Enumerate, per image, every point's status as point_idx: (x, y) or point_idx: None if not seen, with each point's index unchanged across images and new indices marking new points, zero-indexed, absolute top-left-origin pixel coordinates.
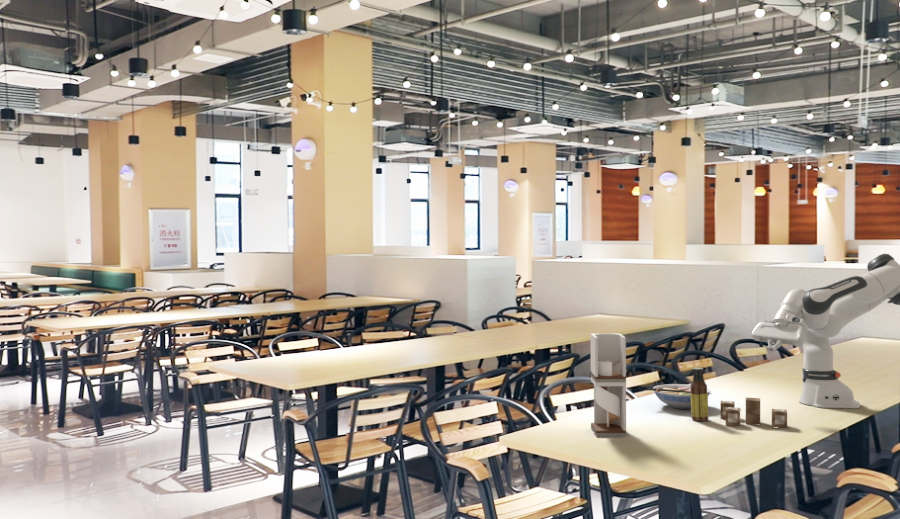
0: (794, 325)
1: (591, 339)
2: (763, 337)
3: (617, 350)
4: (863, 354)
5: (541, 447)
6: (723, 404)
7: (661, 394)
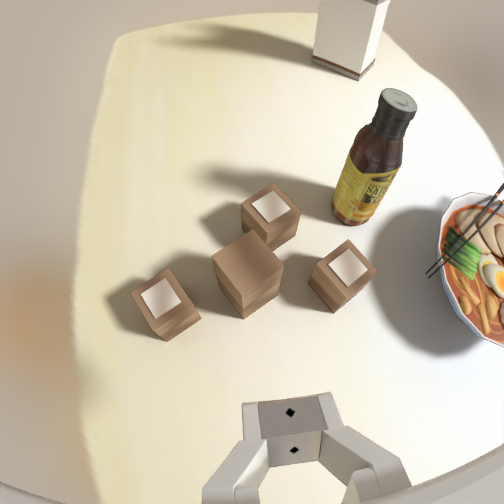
0: None
1: None
2: (479, 458)
3: None
4: None
5: (316, 14)
6: (341, 245)
7: (482, 199)
